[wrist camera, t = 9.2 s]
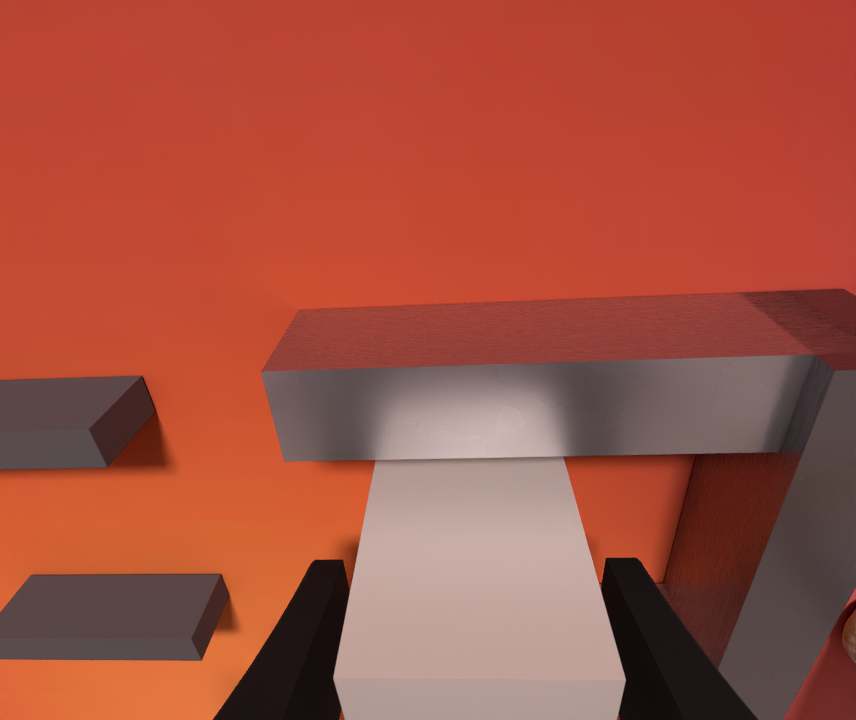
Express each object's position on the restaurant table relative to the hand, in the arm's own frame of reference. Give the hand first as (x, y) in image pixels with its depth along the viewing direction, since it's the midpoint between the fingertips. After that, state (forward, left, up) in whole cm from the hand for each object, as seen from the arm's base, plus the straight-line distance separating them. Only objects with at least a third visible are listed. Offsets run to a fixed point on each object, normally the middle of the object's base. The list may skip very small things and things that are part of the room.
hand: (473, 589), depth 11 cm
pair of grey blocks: (-10, 0, -3) cm, 11 cm away
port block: (+2, 0, -3) cm, 3 cm away
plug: (0, 0, -3) cm, 3 cm away
